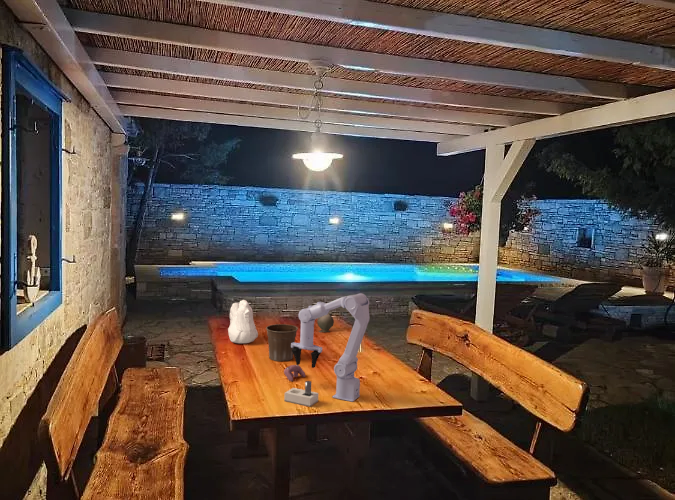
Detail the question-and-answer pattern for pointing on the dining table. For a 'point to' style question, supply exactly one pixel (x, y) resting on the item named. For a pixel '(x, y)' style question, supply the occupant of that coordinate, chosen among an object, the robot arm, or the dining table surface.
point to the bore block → (300, 397)
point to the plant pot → (281, 341)
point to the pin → (307, 388)
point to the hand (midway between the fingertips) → (305, 365)
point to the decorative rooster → (242, 323)
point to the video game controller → (296, 370)
